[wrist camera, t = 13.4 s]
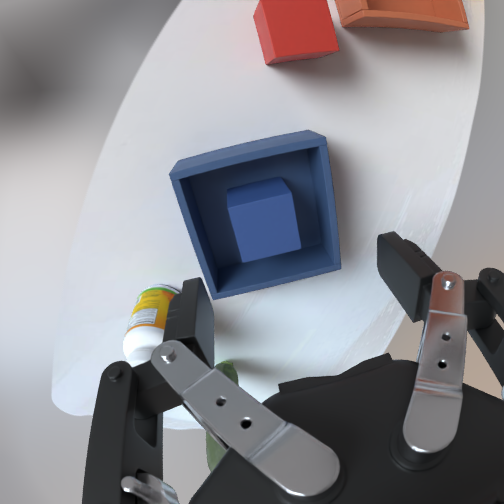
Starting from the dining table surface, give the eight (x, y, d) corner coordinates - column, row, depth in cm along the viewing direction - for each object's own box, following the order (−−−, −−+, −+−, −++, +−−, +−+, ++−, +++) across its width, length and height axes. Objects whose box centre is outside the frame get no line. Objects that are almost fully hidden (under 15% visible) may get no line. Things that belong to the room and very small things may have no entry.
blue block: (226, 188, 25) (227, 208, 21) (280, 176, 25) (291, 192, 21) (239, 236, 27) (243, 263, 23) (289, 224, 27) (301, 248, 23)
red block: (252, 15, 19) (259, -1, 15) (307, 9, 18) (325, -7, 14) (265, 65, 21) (275, 58, 17) (320, 57, 21) (339, 50, 17)
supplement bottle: (194, 318, 32) (189, 391, 24) (149, 326, 32) (134, 396, 24) (177, 278, 29) (163, 350, 21) (129, 288, 30) (104, 358, 21)
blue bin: (177, 160, 24) (168, 173, 20) (309, 129, 24) (326, 136, 20) (213, 272, 29) (212, 300, 26) (326, 244, 29) (341, 269, 25)
